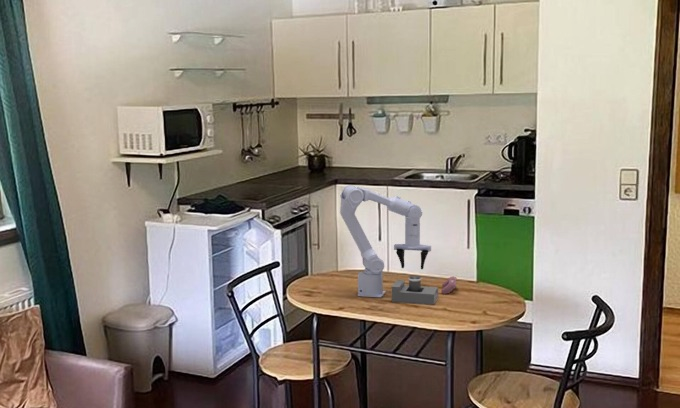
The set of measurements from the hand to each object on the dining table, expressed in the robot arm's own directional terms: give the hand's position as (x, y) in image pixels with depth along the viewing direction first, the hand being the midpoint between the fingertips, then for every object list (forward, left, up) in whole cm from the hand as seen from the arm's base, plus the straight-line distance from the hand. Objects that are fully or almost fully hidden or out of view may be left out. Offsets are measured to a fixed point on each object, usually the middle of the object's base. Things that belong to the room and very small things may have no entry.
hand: (412, 268), depth 275 cm
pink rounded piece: (+14, +4, -10) cm, 17 cm away
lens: (+3, -11, -8) cm, 14 cm away
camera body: (+3, -11, -9) cm, 15 cm away
